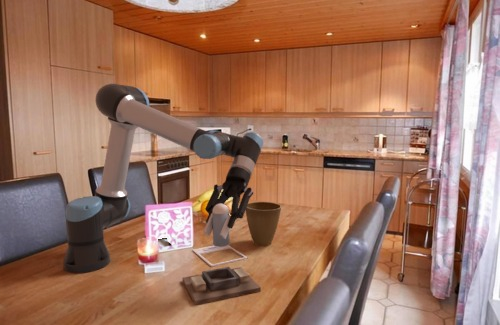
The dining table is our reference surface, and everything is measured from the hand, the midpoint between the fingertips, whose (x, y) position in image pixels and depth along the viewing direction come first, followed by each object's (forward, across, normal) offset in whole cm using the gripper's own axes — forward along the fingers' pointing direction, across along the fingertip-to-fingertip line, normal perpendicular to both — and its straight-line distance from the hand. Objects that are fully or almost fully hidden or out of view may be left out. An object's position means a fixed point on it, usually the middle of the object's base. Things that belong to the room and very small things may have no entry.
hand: (214, 235), depth 105 cm
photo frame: (-5, +14, -31) cm, 35 cm away
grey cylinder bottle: (0, 0, -5) cm, 5 cm away
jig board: (+10, 0, -15) cm, 18 cm away
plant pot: (-19, +5, -44) cm, 49 cm away
